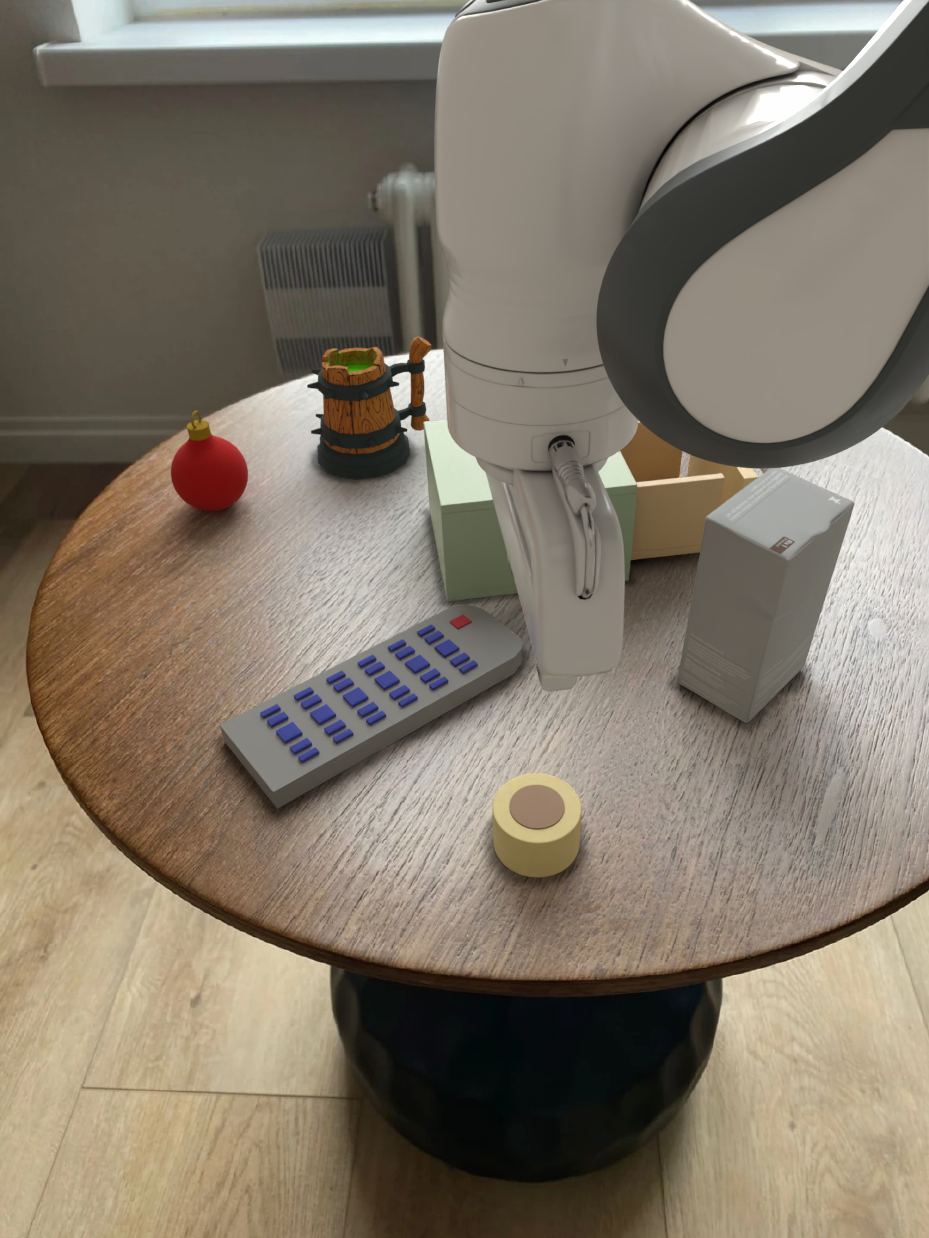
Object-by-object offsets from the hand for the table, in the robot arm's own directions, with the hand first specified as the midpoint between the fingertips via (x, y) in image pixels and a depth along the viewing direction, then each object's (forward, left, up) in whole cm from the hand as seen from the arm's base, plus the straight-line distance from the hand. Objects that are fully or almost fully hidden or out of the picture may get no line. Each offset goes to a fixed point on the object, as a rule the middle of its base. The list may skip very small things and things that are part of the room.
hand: (538, 621), depth 53 cm
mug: (+7, -49, -17) cm, 52 cm away
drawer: (-17, -30, -16) cm, 38 cm away
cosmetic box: (-18, -10, -17) cm, 26 cm away
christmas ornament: (+23, -42, -17) cm, 51 cm away
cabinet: (-5, -30, -17) cm, 34 cm away
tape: (0, +2, -17) cm, 17 cm away
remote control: (+9, -12, -17) cm, 23 cm away
